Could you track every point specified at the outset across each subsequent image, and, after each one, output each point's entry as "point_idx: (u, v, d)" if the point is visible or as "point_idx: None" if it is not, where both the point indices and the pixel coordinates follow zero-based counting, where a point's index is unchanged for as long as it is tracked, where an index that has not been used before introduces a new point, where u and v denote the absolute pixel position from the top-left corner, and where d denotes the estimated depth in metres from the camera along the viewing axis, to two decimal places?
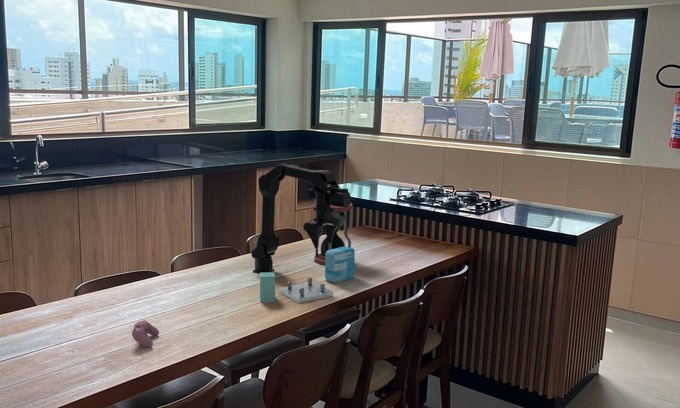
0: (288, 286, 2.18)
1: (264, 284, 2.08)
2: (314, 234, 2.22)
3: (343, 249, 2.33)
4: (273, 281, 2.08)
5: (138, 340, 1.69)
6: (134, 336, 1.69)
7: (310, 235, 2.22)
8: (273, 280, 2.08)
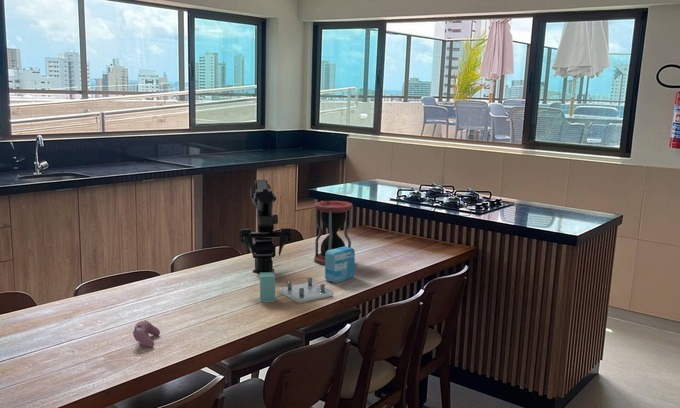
0: (288, 286, 2.18)
1: (264, 284, 2.08)
2: None
3: (343, 249, 2.33)
4: (273, 281, 2.08)
5: (139, 340, 1.69)
6: (135, 336, 1.69)
7: (248, 246, 2.20)
8: (273, 280, 2.08)
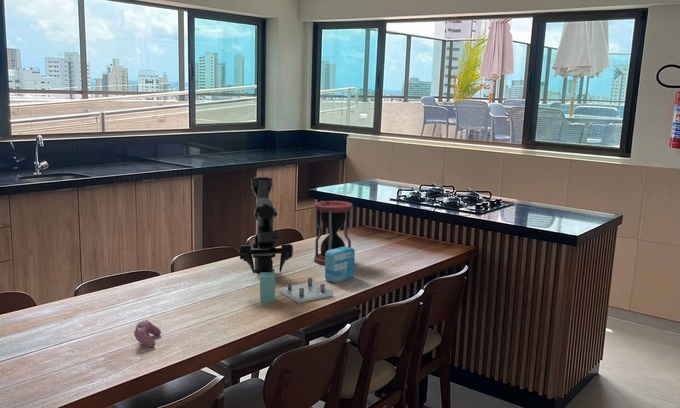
0: (288, 286, 2.18)
1: (264, 284, 2.08)
2: None
3: (343, 249, 2.33)
4: (273, 281, 2.08)
5: (140, 340, 1.69)
6: (136, 336, 1.69)
7: (248, 263, 2.15)
8: (273, 280, 2.08)
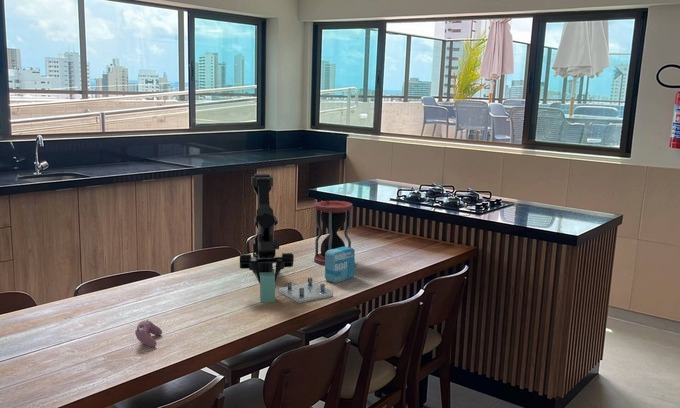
0: (288, 286, 2.18)
1: (264, 284, 2.08)
2: None
3: (343, 249, 2.33)
4: (273, 281, 2.08)
5: (142, 340, 1.70)
6: (138, 336, 1.69)
7: (254, 272, 2.12)
8: (273, 280, 2.08)
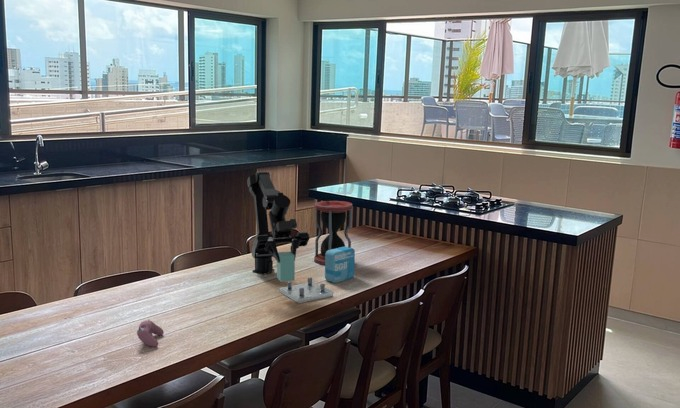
0: (288, 286, 2.18)
1: (284, 264, 2.09)
2: (273, 249, 2.12)
3: (343, 249, 2.33)
4: (293, 260, 2.09)
5: (143, 340, 1.70)
6: (139, 336, 1.70)
7: (271, 252, 2.12)
8: (293, 259, 2.09)
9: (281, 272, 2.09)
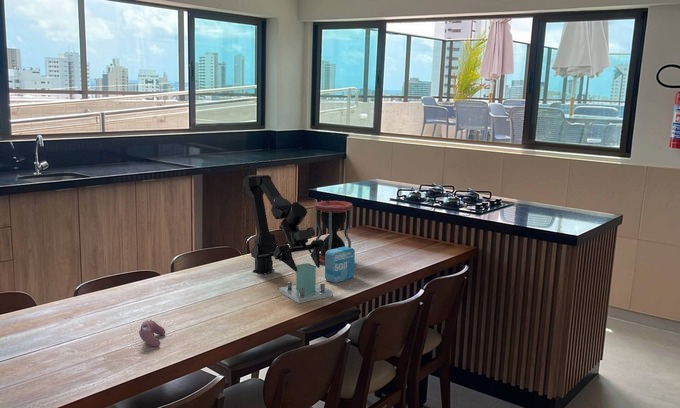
0: (288, 286, 2.18)
1: (307, 275, 2.14)
2: (288, 258, 2.14)
3: (343, 249, 2.33)
4: (314, 271, 2.15)
5: (145, 339, 1.70)
6: (141, 335, 1.70)
7: (286, 262, 2.15)
8: (314, 270, 2.15)
9: (304, 284, 2.14)
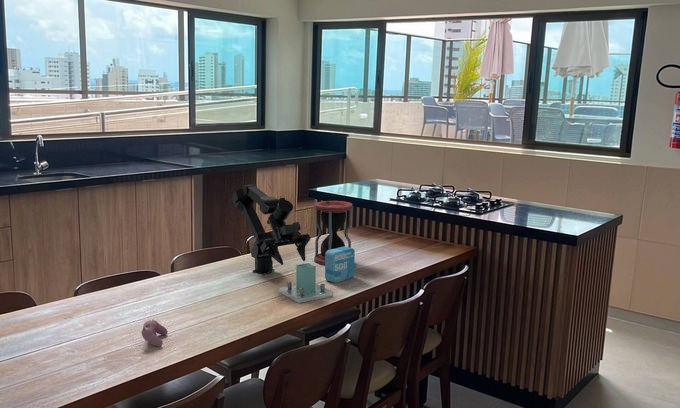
0: (288, 286, 2.18)
1: (307, 275, 2.14)
2: (274, 252, 2.22)
3: (343, 249, 2.33)
4: (314, 271, 2.15)
5: (148, 339, 1.70)
6: (144, 335, 1.70)
7: (272, 255, 2.23)
8: (314, 270, 2.15)
9: (304, 284, 2.14)
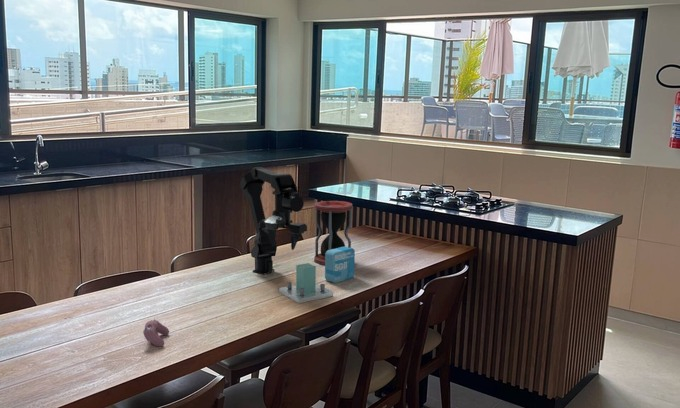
0: (288, 286, 2.18)
1: (307, 275, 2.14)
2: None
3: (343, 249, 2.33)
4: (314, 271, 2.15)
5: (150, 339, 1.70)
6: (146, 335, 1.70)
7: None
8: (314, 270, 2.15)
9: (304, 284, 2.14)
